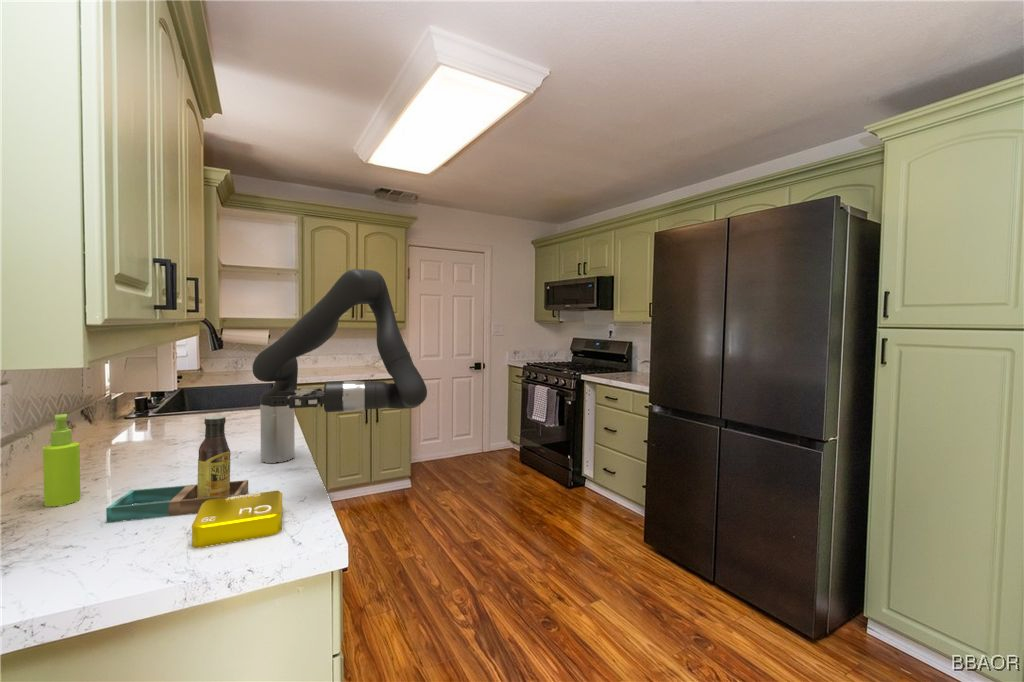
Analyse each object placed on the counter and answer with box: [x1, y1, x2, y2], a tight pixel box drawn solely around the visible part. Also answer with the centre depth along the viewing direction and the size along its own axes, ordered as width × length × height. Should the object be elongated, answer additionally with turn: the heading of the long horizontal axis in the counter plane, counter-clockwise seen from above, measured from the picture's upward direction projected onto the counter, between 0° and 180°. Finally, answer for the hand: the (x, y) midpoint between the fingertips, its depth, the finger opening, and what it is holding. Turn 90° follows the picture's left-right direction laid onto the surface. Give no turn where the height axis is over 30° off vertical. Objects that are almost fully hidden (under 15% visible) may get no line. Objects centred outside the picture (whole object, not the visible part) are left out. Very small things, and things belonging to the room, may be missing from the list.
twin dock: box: [105, 479, 249, 523], centre depth 101 cm, size 11×24×3 cm, turn 109°
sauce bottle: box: [196, 415, 231, 498], centre depth 103 cm, size 7×6×20 cm
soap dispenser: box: [42, 413, 82, 507], centre depth 103 cm, size 6×7×20 cm
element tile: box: [191, 490, 283, 549], centre depth 92 cm, size 15×15×5 cm
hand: (272, 398), depth 106 cm, fingers open, 8 cm apart
